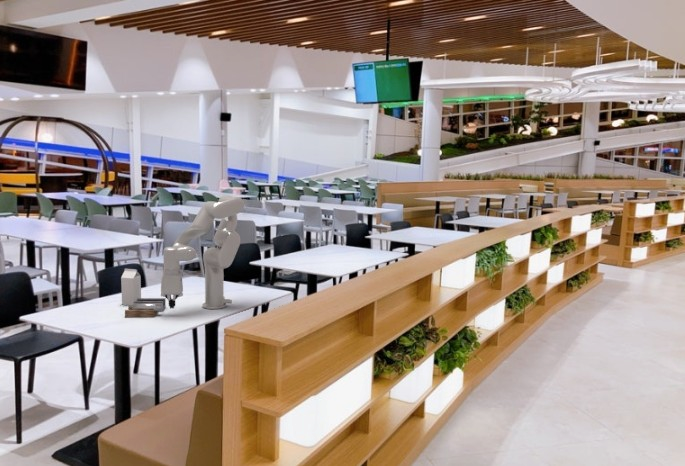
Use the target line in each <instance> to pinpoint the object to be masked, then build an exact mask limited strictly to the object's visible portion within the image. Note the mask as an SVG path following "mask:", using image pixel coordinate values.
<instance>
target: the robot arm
mask: <svg viewBox="0 0 685 466" xmlns="http://www.w3.org/2000/svg"><path fill="white" fill-rule="evenodd" d="M244 209H245V201H244V199H242V197H240V196H233V195H222V196H220V197H219V199H218V201H211V200H210V201H209V200H208V201H206V202H204V203H203V204H202V206H201V208H200V209H199V211H198V212H197V214H196V216H195V218H194V220H193V222H192V223H191V224H190V225H189V226H188V227H186V229H184V230H183V231H182V232H181V233H180V234H179V236H177V238H176V239H175V241H174V244H173V245H172V246H166V247H164V249H163V256H162V257H163V273H162V276H161V282H160V283H161V285H160V297H161V298H165V299H166V300H167V301H168V307H169V309H174V308H175V307H176V299H178V298H180V297H183V296H184V292H183V291H184V287H183V286H184V283H183V277H182V274H181V273H183V269H180V268H181V267H180V262H190V261H192V260H194V259H195V258H196V256H197V252H196V251H197V250H195V248H194V247H192V246H189V245H190V243H191V242H192V241H193V240H195V239H197V238H199V237H201V236H204V235H205V234H207V232H208V231H209V229H210V227H211V226H212V224H213V222H214V221H215V219H216V220H220V223H219V225H218V226H217V229H216V231H215V234H214V235H213V236H214V237H213V243H214V244H215V245H216V246H218V247H221V248H218V247H214V246H213V247H209V248H207V249H205V251H204V252H203V256H202V260H203V266H204V276H205V277H204V284H205V285H204V290H205V291H204V293H205V294H204V295H205V296H204V297H205V299H204V300H205V301H204V302H203V303H202V308H203V309H207V310H220V309H223V308H226V307H227V304H232V303H233V300H232V299H230V298H227V299H226V297H225V296H224V293H225V292H224V277H225V275H224V269H227V268H229V267H231V265H232V264H233V262H234V259H235V257H236V255H237V252H238V250H239V248H240V245H241V236H240V234H239V233H238V232H237V231H235V230H236V228H237V225H238V214H239V213H242V212H243V210H244Z"/></svg>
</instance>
